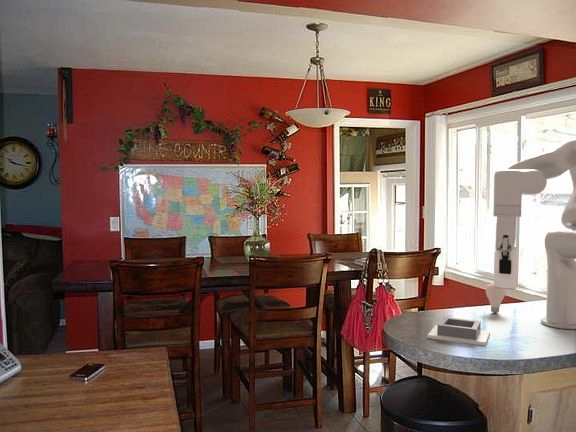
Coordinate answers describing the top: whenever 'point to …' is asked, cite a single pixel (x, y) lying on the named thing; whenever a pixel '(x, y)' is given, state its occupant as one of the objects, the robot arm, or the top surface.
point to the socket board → (460, 331)
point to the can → (506, 279)
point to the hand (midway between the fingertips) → (505, 271)
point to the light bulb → (495, 297)
